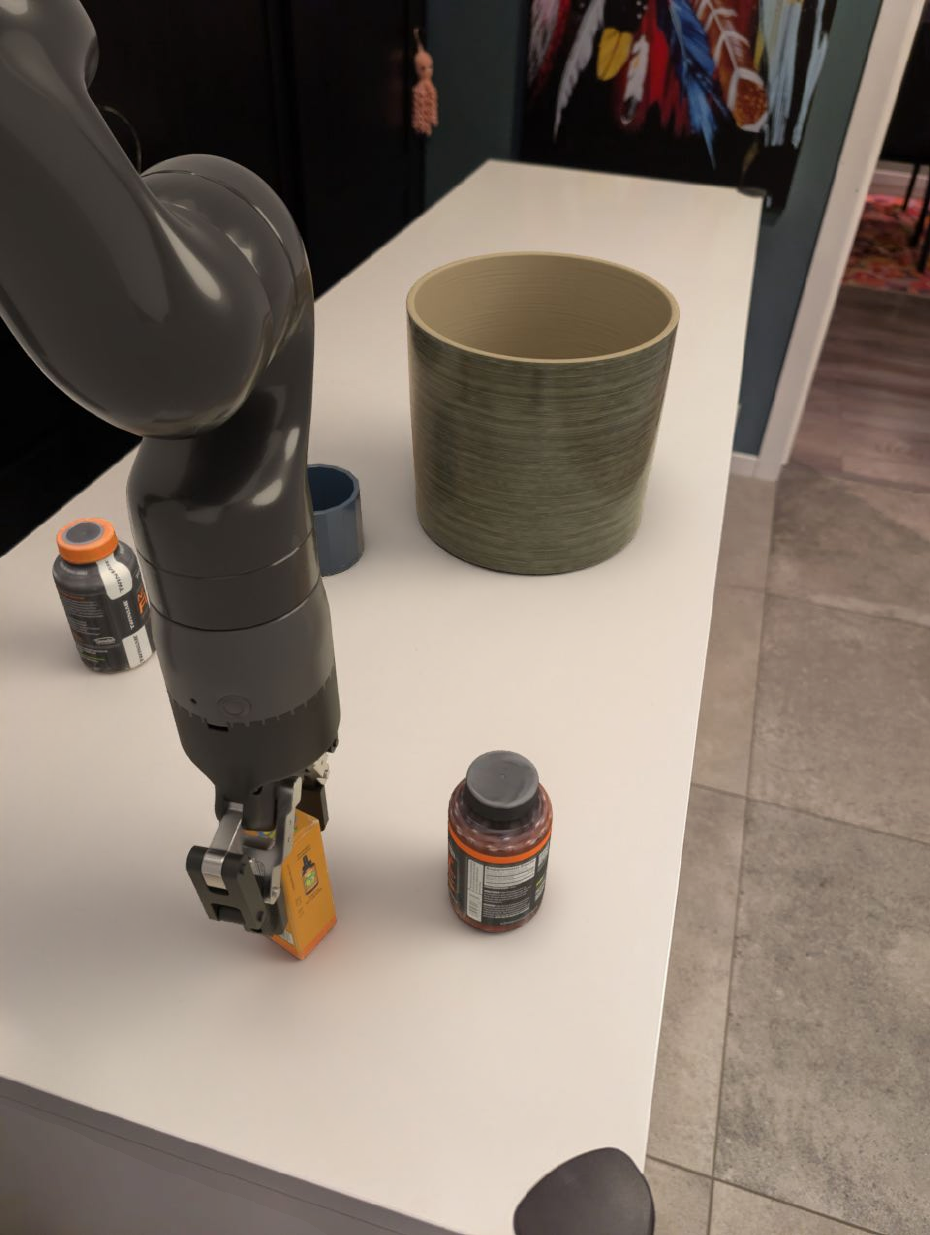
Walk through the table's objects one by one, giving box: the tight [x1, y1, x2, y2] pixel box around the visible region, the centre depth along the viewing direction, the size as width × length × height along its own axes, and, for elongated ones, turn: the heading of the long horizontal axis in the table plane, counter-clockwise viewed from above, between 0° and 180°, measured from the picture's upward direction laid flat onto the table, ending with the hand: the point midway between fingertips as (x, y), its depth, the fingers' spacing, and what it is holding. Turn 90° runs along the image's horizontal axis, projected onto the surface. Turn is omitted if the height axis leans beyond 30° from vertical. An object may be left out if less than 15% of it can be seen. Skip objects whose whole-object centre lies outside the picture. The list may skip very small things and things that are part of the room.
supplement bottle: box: [447, 749, 554, 933], centre depth 56 cm, size 6×6×11 cm
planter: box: [405, 250, 681, 575], centre depth 84 cm, size 22×22×20 cm
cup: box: [307, 463, 365, 577], centre depth 83 cm, size 8×8×6 cm
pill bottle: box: [51, 517, 156, 673], centre depth 72 cm, size 6×6×11 cm
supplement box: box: [244, 808, 338, 961], centre depth 54 cm, size 3×3×10 cm
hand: (289, 873), depth 54 cm, fingers open, 6 cm apart
